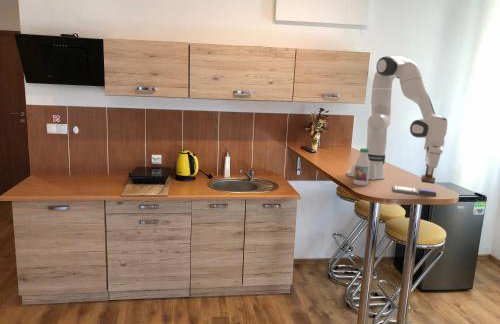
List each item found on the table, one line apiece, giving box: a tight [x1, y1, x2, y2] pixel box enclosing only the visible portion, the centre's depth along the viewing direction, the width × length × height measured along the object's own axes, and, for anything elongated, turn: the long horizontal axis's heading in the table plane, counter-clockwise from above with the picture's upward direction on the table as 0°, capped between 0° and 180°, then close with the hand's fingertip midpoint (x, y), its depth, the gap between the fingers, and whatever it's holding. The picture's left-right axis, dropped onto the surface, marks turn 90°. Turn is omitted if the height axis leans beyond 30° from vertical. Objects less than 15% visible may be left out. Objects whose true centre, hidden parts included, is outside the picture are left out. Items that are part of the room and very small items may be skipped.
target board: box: [392, 185, 419, 196], centre depth 210 cm, size 12×10×2 cm
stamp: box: [420, 163, 436, 185], centre depth 205 cm, size 6×4×11 cm
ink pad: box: [417, 187, 437, 197], centre depth 207 cm, size 8×6×2 cm
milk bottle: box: [353, 147, 370, 186], centre depth 218 cm, size 8×8×20 cm
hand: (428, 173), depth 206 cm, fingers closed on stamp, 4 cm apart
